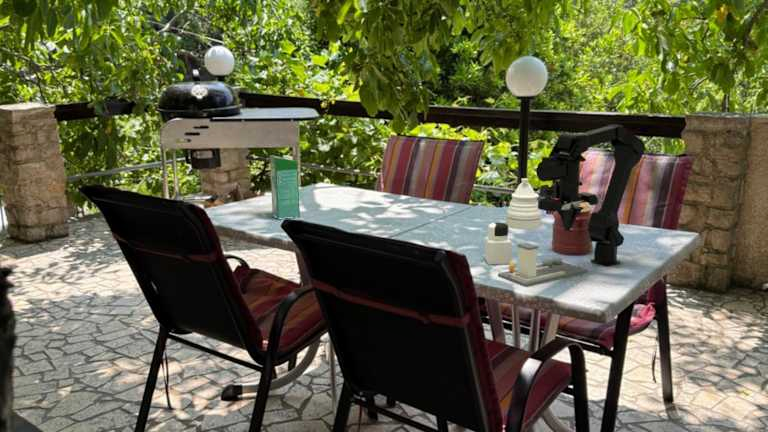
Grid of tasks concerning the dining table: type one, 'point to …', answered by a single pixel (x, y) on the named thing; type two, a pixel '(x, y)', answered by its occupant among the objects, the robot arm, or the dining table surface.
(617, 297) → the dining table surface
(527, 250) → the fader tab
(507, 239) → the medicine bottle
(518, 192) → the honey pot
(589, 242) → the canister
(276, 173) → the milk carton
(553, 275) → the console
